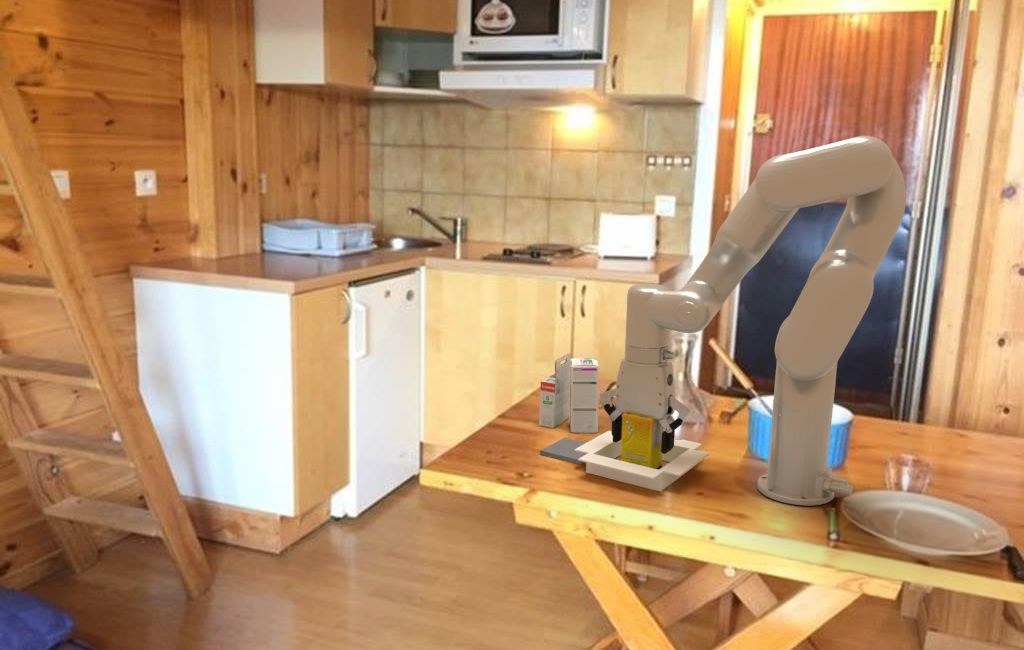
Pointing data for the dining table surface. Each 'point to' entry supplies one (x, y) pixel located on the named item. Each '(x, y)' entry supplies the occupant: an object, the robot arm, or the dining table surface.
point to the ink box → (556, 395)
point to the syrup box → (584, 395)
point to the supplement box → (641, 441)
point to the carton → (605, 465)
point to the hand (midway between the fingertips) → (641, 445)
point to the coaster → (564, 450)
